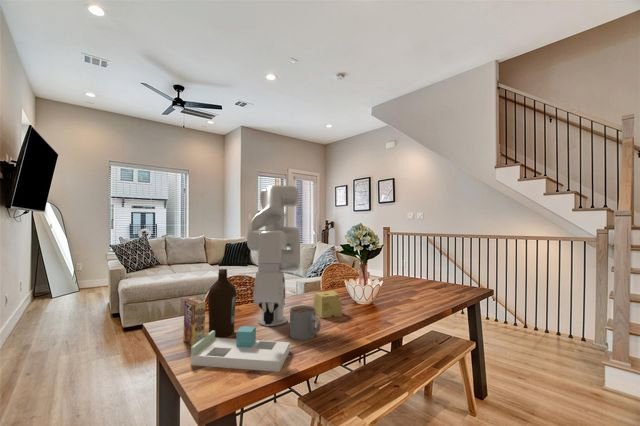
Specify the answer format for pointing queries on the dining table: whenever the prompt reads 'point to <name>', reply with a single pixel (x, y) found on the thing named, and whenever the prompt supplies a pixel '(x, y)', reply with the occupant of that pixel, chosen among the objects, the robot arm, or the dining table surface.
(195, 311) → the candy box
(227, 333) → the olive oil
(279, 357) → the white board with holes
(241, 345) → the block
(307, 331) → the coffee mug
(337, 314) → the cheese
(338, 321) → the dining table surface
